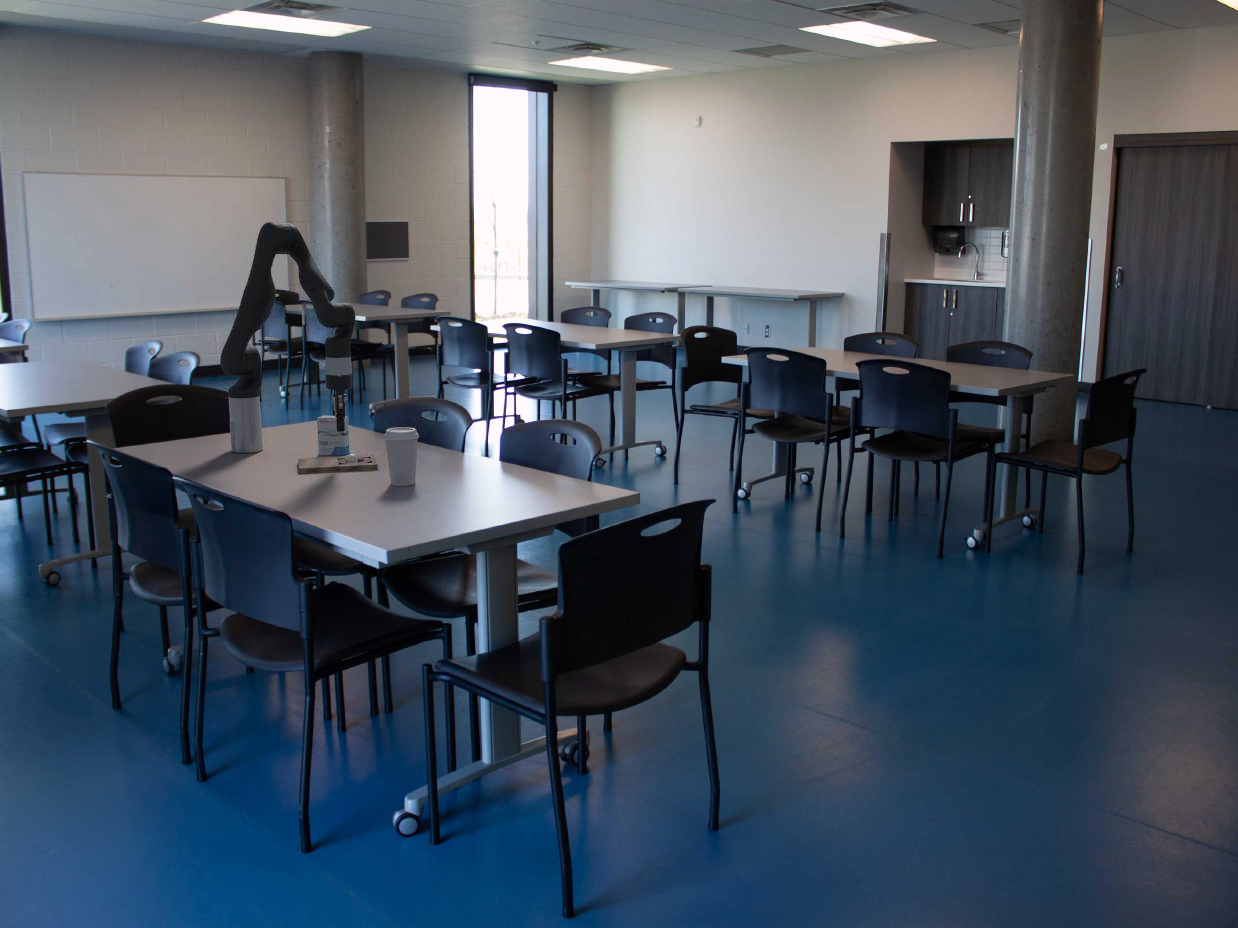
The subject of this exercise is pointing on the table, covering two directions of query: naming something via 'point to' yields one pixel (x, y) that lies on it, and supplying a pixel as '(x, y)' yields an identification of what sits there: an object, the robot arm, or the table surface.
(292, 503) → the table surface
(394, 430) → the coffee cup
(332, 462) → the wooden board
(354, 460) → the ball
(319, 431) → the ink box
